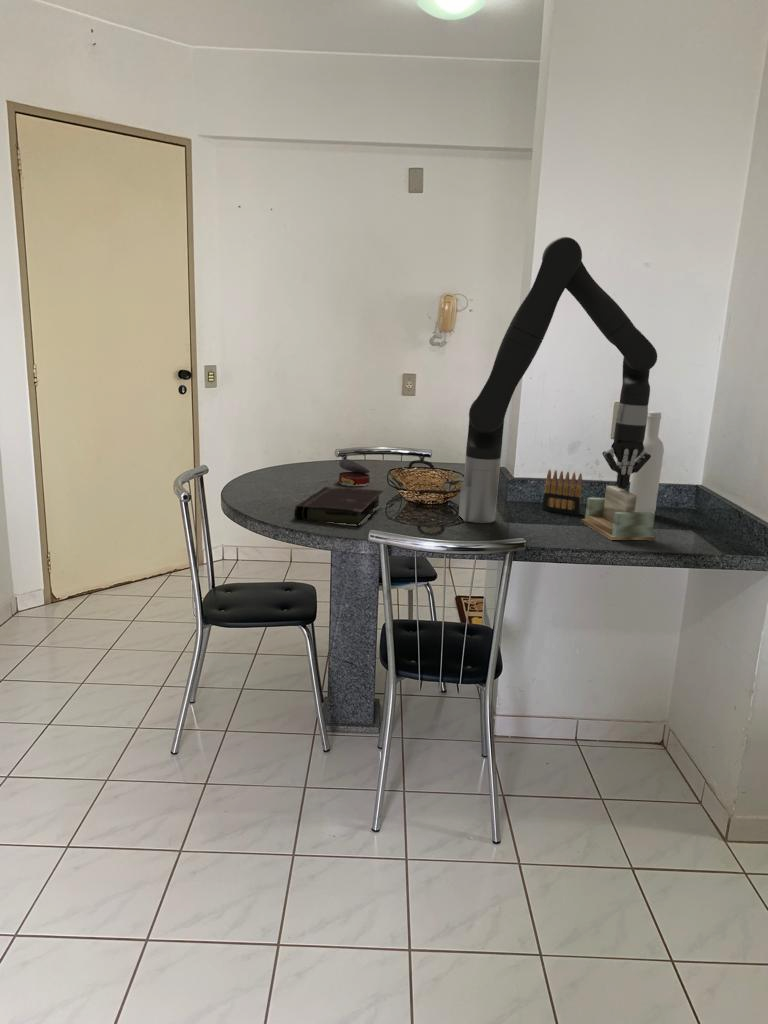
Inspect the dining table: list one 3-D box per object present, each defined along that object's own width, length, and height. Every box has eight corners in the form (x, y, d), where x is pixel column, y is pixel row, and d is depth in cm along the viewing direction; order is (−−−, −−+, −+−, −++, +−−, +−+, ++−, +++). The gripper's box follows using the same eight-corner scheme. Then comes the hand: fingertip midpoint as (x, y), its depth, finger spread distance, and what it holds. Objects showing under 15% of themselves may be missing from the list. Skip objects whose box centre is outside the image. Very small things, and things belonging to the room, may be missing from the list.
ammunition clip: (541, 509, 220) (545, 469, 217) (542, 508, 222) (547, 468, 219) (578, 515, 216) (583, 473, 214) (579, 513, 218) (584, 472, 215)
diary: (293, 522, 194) (293, 503, 193) (322, 502, 218) (322, 485, 216) (363, 529, 190) (364, 510, 189) (385, 507, 214) (385, 490, 213)
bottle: (642, 510, 227) (656, 410, 219) (660, 517, 219) (675, 413, 212) (620, 511, 224) (634, 410, 216) (638, 518, 217) (652, 413, 209)
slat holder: (610, 540, 191) (614, 513, 189) (581, 522, 208) (584, 497, 206) (654, 540, 193) (658, 514, 191) (621, 522, 210) (624, 498, 208)
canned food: (337, 496, 243) (330, 467, 245) (365, 491, 247) (358, 463, 249) (349, 487, 233) (341, 456, 234) (378, 482, 237) (370, 452, 239)
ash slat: (622, 533, 194) (627, 495, 192) (601, 521, 206) (606, 485, 204) (631, 533, 195) (636, 495, 192) (610, 521, 206) (615, 485, 204)
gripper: (613, 423, 189) (604, 490, 193) (662, 425, 191) (652, 491, 195) (600, 419, 196) (592, 484, 200) (647, 421, 198) (638, 485, 202)
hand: (622, 488), depth 198 cm, fingers closed
